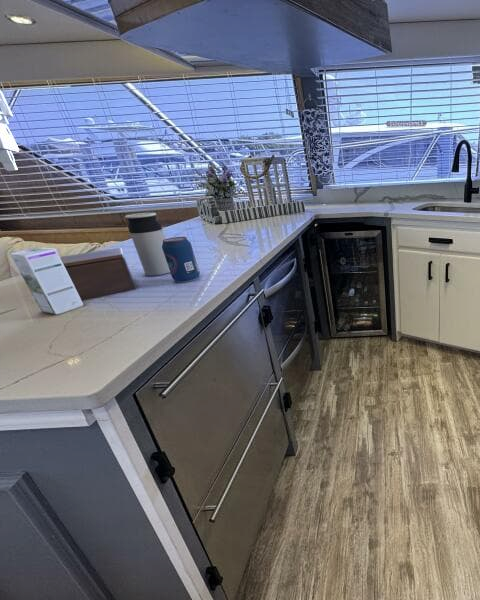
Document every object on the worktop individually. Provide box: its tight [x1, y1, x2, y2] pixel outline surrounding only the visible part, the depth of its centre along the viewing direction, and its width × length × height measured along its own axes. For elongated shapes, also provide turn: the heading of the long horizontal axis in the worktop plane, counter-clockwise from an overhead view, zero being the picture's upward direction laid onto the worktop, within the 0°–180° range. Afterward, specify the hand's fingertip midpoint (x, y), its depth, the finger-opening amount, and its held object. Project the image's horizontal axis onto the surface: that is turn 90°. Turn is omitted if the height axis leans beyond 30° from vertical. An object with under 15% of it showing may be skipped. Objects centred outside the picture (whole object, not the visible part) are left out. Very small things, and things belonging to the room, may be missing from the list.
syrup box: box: [9, 247, 84, 315], centre depth 74 cm, size 6×6×14 cm
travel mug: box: [124, 212, 171, 277], centre depth 98 cm, size 8×8×18 cm
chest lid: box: [60, 247, 124, 267], centre depth 85 cm, size 12×13×1 cm
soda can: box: [162, 236, 201, 284], centre depth 92 cm, size 7×7×12 cm
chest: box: [65, 251, 136, 301], centre depth 87 cm, size 12×13×9 cm
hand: (12, 170), depth 80 cm, fingers closed
